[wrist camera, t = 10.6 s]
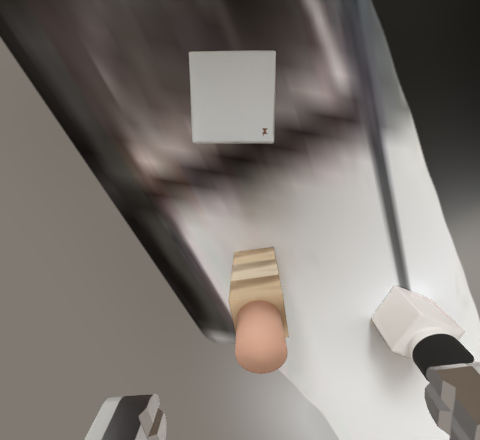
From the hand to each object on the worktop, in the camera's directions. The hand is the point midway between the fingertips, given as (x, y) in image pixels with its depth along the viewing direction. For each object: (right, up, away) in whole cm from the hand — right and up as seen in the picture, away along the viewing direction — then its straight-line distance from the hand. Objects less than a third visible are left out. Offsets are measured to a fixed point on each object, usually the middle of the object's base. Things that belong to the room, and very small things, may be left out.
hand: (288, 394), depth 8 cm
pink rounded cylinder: (+1, -6, +22) cm, 23 cm away
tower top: (+1, -5, +26) cm, 27 cm away
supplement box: (-2, +20, +26) cm, 33 cm away
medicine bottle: (+25, -9, +36) cm, 44 cm away
